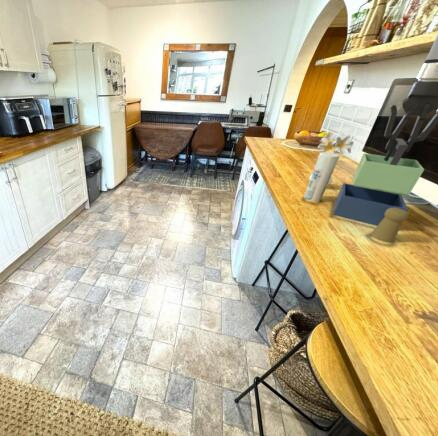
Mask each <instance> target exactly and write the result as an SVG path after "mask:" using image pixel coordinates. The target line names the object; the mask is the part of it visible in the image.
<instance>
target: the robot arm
mask: <svg viewBox="0 0 438 436" xmlns="http://www.w3.org/2000/svg"><path fill="white" fill-rule="evenodd" d="M415 79H416V80H417V81H414V82H413V84H412V85H411V88H410V90H409V92H408V94H407V96H406V97H405V99H403V100H402V102H399V103H396V104H391V105H390V106H389V110H390V114H389V117H388V121H387V124H386V127H385V131H384V134H383V136H384V138H385V139H388V142H387V143H386V146H385V147H384V149H385V151H387V152H386V154H385V155H384V156H385V158H384V160H385V161H388V159H389V157H390V155H391V154H392V152H393V150H394V148H395V146H396V144H397V142H398V141H397V140H395V139H396V138H398V137H399V135H400V134H401V133H402V130H403V129H404V127H405V126H406V125H407V123H408V122H409V120H410V119H411V117H412V116H417V117H416V120H415V123H414V126H413V127H412V130H411V133H410V134H409V135H410V136H409V138H408V140H404V141H405V143H406V144H407V145H408V147H407V149H406V151H404V153H409V152H410V151H411V149H412V147H413V145H414V144H415V143H417V142H423V141H425V140H426V139H427V137H428V136H429V134H431V132H432V131H433V129H434V128H435V127H436V126H437V125H438V34H437V35H436V36H435V39H434V41H433V44H432V46H431V48H430V50H429V52H428V54H427V56H426V58H425V60H424V63H423V64H422V66H421V68H420V70H419V72H418V74H417V76H416V78H415ZM401 107H402V108H403V112H404V114H403V116H402V118H401V119H400V121H399V123H398V124H397V126H396V127H395V129H394V130H393V127H394V124H395V120H396V118H397V115H398V111H400V110H401ZM434 110H436V111H435V114H434V115H433V117H432V118H431V120H429V122H428V123H427V124H426V126H425V128H424V129H423V130H422V131H421V128H422V126H423V123H424V121H425V120H426V118H427V115H428V114H430V113H431V112H433V111H434ZM392 131H393V132H392ZM420 131H421V132H420ZM419 133H420V134H419ZM404 153H403V154H402V156H401V158H402V157H403V155H404ZM401 158H400V159H401ZM399 161H400V160H399Z"/></svg>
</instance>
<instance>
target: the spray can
mask: <svg viewBox="0 0 438 436" xmlns="http://www.w3.org/2000/svg"><path fill="white" fill-rule="evenodd" d="M339 159H340V155H339V153H330V152H323V151H321V152H320V153H319V154H318V157H317V160H316V162H315V165H314V168H313V171H312V173H311V175H312V176H311V175H310V176H311V179H310V180H309V182H308V185H307V187H306V190H305V192H304V195H303V198H304V199H305V200H306V201H308V202H314V203H318V202H321V200H322V198H323V196H324V193H325V191H326V189H327V187H328V186H327V184H328V182H329V180H330V177H332V175H333V173H334V170H335V168H336V165H337V163H338V161H339Z"/></svg>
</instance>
